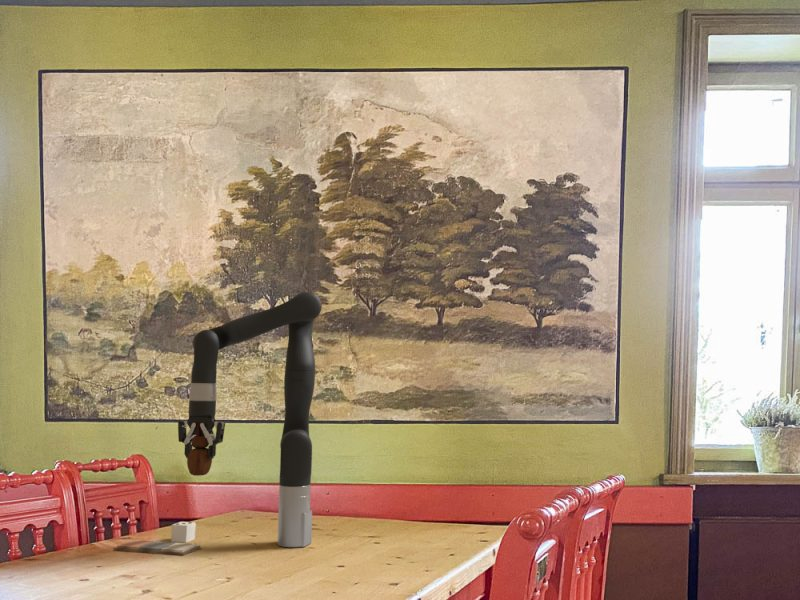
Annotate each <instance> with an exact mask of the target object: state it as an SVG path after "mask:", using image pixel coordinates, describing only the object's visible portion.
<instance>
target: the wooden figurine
mask: <svg viewBox="0 0 800 600" xmlns="http://www.w3.org/2000/svg"><path fill="white" fill-rule="evenodd" d="M191 444H192V450H191V451H190V452H189V454H188V457H187V458H186V464H187V470H188V471H189V474H190V475H192V476H196V477H199V476H200V477H201V476H202V477H203V476H206V475H207V474H208V473H209V472H210V469H211V467H212V463H213V459H208V446H210V445H209V442H208V440H207V439H206V437H205V435H200V427H199V422H198V424H197V434H196V436H194V437H193V439H192V443H191Z"/></svg>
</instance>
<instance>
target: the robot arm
mask: <svg viewBox="0 0 800 600" xmlns="http://www.w3.org/2000/svg"><path fill="white" fill-rule="evenodd" d="M319 297H320V296H318V295H317V294H315V293H314V292H311V291H310V292H309V291H303V292H300V293H298V294H296V295H294V296H293V297H292V298H290V299H289V300H287V301H284V302H283V303H281V304H278V305H276V306H274V307H271V308H267V309H265V310H261V311H258V312H254V313H252V314H251V313H250V314H248V315H244V316H241V317H239V318H235V319H233V320H231V321H230V320H229V321H228V322H226V323H224V324H222V325H219V326H215V327H212V328H209V329H203V330H200V331H199V332H198V333H196V334H195V335H194V336H193V339H192V348H193V364H192V366H191V367H192V368H191V378H190V388H189V395H188V399H189V400H188V419H187V420H179V421H178V422H177V430H178V433H177V435H178V436H177V437H178V442H180V443H183V444H184V452H183V453H184V457H185V458H186V459H187V457H188V454H189V452H190V451H191V450H192V449H193V446H192V439H193V437H194V436H196V434H197V424H198V422H199V427H200V435H205V437H206V439H207V440H208V442H209V446H208V447H207V448H208V459H212V460H213V459H214V458H215V457H216V455H217V454H216V452H217V445H219V444H221V443H222V444H223V442H224V435H225V428H226V422H225V421H217V420H216V418H215V417H216V409H217V394H218V393H217V364H218V356H219V351H220V350H223V349H224V348H228V347H230V346H233V345H237V344H241V343H243V342H246V341H249V340H251V339H254V338H256V337H258V336H261V335H263V334H266V333H269V332H271V331H273V330H276V329H278V328H282V327H283V326H287V325H288V340H287V347H286V348H287V349H286V357H285V358H286V359H285V366H284V378H283V379H284V382H283V383H284V384H283V385H284V386H283V388H284V389H283V391H284V410H285V411H284V412H285V413H284V423H283V428H282V434H281V439H280V443H279V448H280V460H279V461H280V462H279V463H280V464H279V466H280V467H279V486H278V488H279V489H278V490H279V491H278V495H279V496H278V515H277V516H278V520H277V521H278V522H277V523H278V524H277V546H279V547H284V548H305V547H307V546H308V545H309V544H311V543H312V539H313V538H312V536H313V535H312V534H313V533H312V532H313V510H312V509H311V479H312V470H313V469H312V468H313V467H312V464H313V463H312V462H313V443H312V440H311V438H310V410H311V405H312V401H313V396H314V389H315V382H316V380H315V379H316V378H315V377H316V361H315V360H316V359H315V358H316V357H315V354H314V353H315V352H314V348H313V339H312V335H313V327H314V321H315V319H317V318H318V316H320V315H321V312H322V308H323V303H322V300H321V299H320V298H319ZM214 427H215V430H216V431H215V432H214V430H213V429H214ZM187 428H189V430H188V431H187Z"/></svg>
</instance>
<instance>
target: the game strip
mask: <svg viewBox="0 0 800 600" xmlns="http://www.w3.org/2000/svg"><path fill="white" fill-rule="evenodd" d="M199 549H201V545H198V544H197V543H190V542H187V543H181V542H171V541H170V542H168V541H160V540H159V541H157V540H156V541H154V540H144V539H143V540H142V539H141V540H140V539H133V540H129V541H127V542H124V543H120V544H118V545H117V546H116V547H114V548H113V551H115V552H129V553H130V552H131V553H142V554H144V553H145V554H156V555H157V554H158V555H170V556H171V555H173V556H182V557H183V556H185V555H188V554H191V553H192V552H195V551H197V550H199Z"/></svg>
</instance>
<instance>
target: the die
mask: <svg viewBox="0 0 800 600" xmlns="http://www.w3.org/2000/svg"><path fill="white" fill-rule="evenodd" d="M194 540H196V522H194V521H193V522H191V521H178V522H176V523H172V524H171V537H170V542H174V543H190V542H192V541H194Z"/></svg>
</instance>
